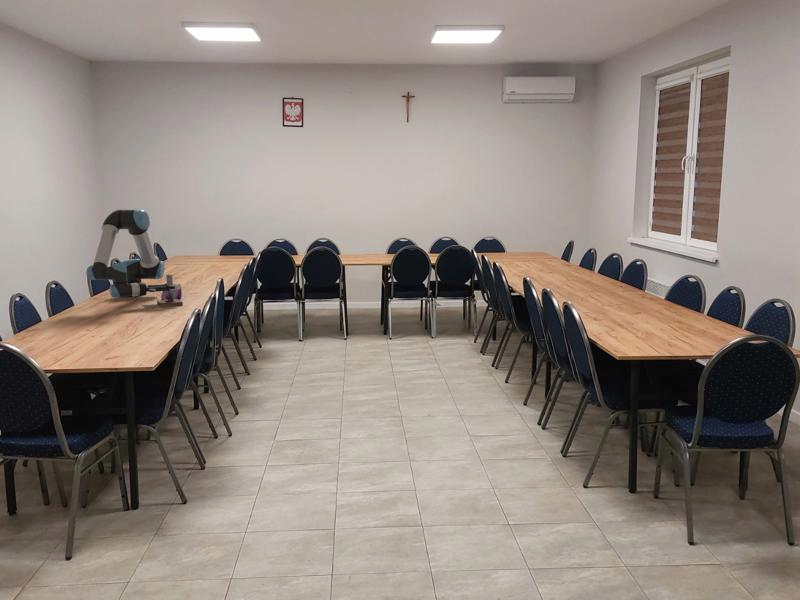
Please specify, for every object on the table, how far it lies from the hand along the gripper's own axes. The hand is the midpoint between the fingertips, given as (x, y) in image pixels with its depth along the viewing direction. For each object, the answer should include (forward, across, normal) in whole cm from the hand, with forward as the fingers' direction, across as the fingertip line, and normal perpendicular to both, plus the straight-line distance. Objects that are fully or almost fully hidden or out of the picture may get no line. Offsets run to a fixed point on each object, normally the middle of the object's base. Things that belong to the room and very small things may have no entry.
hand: (179, 286), depth 434 cm
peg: (-5, 0, -10) cm, 11 cm away
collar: (-6, 0, -11) cm, 12 cm away
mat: (-17, -1, -11) cm, 20 cm away
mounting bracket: (-1, -18, -12) cm, 21 cm away
